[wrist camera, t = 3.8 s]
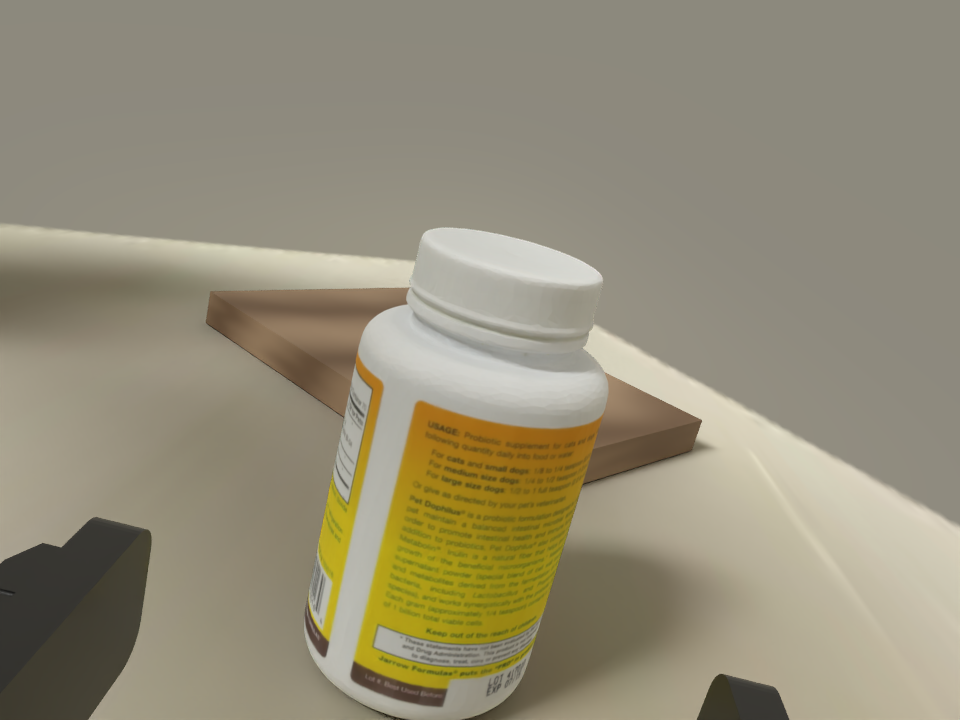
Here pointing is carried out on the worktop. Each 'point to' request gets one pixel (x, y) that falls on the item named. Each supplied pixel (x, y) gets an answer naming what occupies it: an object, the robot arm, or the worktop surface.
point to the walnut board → (334, 345)
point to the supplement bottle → (456, 477)
